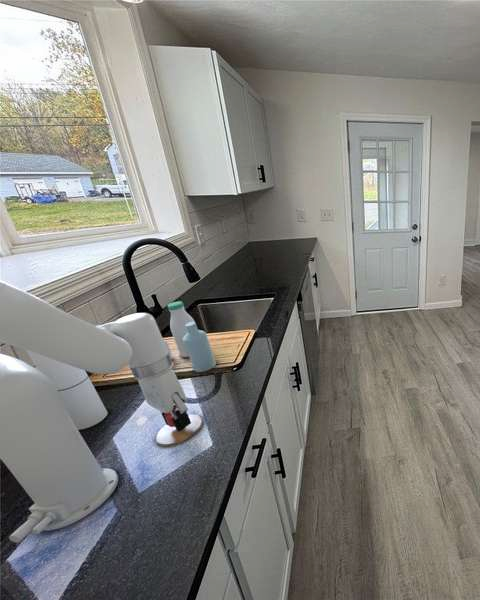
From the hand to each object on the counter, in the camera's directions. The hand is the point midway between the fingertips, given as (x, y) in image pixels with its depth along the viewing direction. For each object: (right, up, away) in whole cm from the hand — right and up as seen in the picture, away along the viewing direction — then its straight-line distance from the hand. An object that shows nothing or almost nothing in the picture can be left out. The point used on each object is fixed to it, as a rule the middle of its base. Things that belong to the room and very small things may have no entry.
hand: (178, 423), depth 80 cm
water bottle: (-10, +9, +28) cm, 31 cm away
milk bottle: (-21, +12, +37) cm, 45 cm away
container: (-30, +9, +31) cm, 44 cm away
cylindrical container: (-29, -2, +6) cm, 30 cm away
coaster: (0, -2, +1) cm, 2 cm away
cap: (0, +1, 0) cm, 1 cm away
